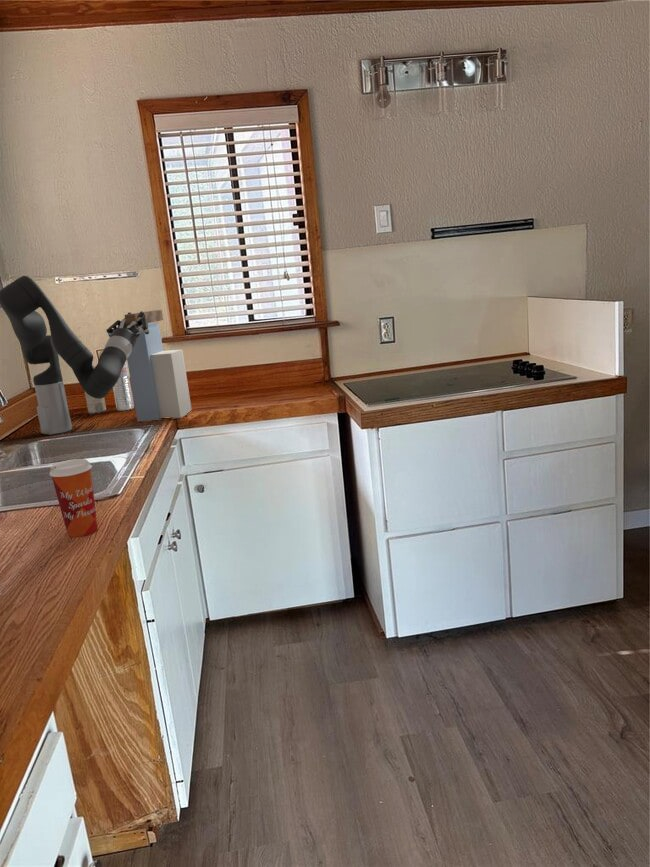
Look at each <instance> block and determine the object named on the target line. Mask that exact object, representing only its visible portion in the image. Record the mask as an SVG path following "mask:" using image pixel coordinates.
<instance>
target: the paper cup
mask: <svg viewBox="0 0 650 867" xmlns="http://www.w3.org/2000/svg"><path fill="white" fill-rule="evenodd" d="M92 468H93V464H91V463H90V461H88V460H87V459H85V458H74V459H68V460H63V461H60V462H57V463H54V464H53V465H51V466H50V472H49V476H50V477H51V478H52V482H53V486H54V489H55V493H56V498H57V501H58V502H57V503H58V505H59V508H60V512H61V517H62V520H63V522H64V526H65V528H66V529H65V530H66V534H67V535H68V537H70V538H83V537H86V536H90V535H92V534H95V533H96V532H97V531H98V529H99V528H98V517H97V510H96V509H97V508H96V502H95V494H94V486H93V479H92V471H91V470H92Z"/></svg>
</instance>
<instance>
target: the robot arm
mask: <svg viewBox="0 0 650 867" xmlns="http://www.w3.org/2000/svg"><path fill="white" fill-rule="evenodd" d="M0 307H1V308H2V310H3V311H4V313H5V315H6V316H7V318H8V320H9V321H10V324H11V327H12V330H13V332H14V334H15V337H16V338H17V340H18V342H19V344H20V345H19V346H20V347H21V348H20V349H21V351H22V354H23V358H24V359H25V361H26V363H28V364H29V365H43V364H49V366H48V368H46V369H45V370H43V371H42V372H39V374H35V375H34V376H33V379H32V381H33V385H34V389H35V394H36V400H37V404H38V406H36V413H37V417H38V422H39V427H40V431H41V434H44V435H56V434H60V433H61V434H63V433H67V432H69V431H71V430H73V425H72V420H71V414H70V411H69V405H68V400H67V395H66V394H67V393H66V389H65V384H64V380H63V376H62V371H61V370H62V369H61V365H60V359H59V357H60V358H61V359H63V360H62V361H64V362H65V363H66V364H67V365H68V367H70V368H71V370H72V372H73V374H74V376H75V377H76V379H77V382H78V383H79V385H80V386H81V389H82V390H83V391H84V393H85V392H86V393H87V394H88V395H90V396H91V397H93V398H97V399H101V398H104V399H105V397H106V396H108V394H109V393H110V392H111V390H113V387H114V385H115V384H116V383H117V381H118V379H119V377H120V374H121V369H122V368H123V366H124V364H125V362H126V363H127V359H128V358H129V356H130V354H131V352H132V350H133V348H134V346H135V344H136V340H137V337H139V336H140V334H142V333H145V334H149V329H148V324H149V323H147V322H146V319H145V314H144V313H143V312H144V311H139V312H138V313H139V315H138V317H137V319H136V320H135V321H133V322H132V323H131V324H130V325H126V321H125V317H124V318H122V319H121V320H120V319H117V320H116V321H115V322H114V323H113V324H111V325H110V326H109V327H108V328H107V329H106V330H105V331H106V332H107V335H108V337H109V338H108V340H107V341H106V343H105V345H104V347H103V351H102V353H101V354H100V356H99V358H98V361H97V363H96V366H95V368H94V369H93V367H92V365H93V362H94V355H93V353H92V352H91V351H90V349H89V348H88V347H87V346H86V345H85V344H84V343H83V342H82V341H81V340H80V339H79V337H78V336H77V335H76V333H74V331H73V330H72V329H71V328H70V326H69V324H68V323H67V322H66V321H65V319H64V317H63V316H62V315H61V314H60V311H58V309H57V308H56V307H55V305H54V304H53V303H52V301H51V300H50V299H49V297H48V296H47V295H46V293H45V292H44V291H43V290H42V288H41V287H40V286H39V285H38V283H36V281H35V280H33V279H32V278H30V276H27V275H22V276H19V277H18V278H16V279H15V280H14V281H12V282H9V284H7V285H6V286H4V287H2V288H1V289H0ZM39 308H41V310H43V312H44V314H45V316H46V318H47V321H48V325H49V326H48V327H49V332H50V335H49V334H48V330H47V325H46V322H45V319H44V317H43V316H42V315H41V314H40V313H39V312H37V309H38V310H39ZM127 314H132V313H131V311H130V312H127ZM138 323H139V324H138ZM47 334H48V335H47Z"/></svg>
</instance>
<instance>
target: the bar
mask: <svg viewBox="0 0 650 867" xmlns="http://www.w3.org/2000/svg"><path fill="white" fill-rule="evenodd" d="M139 313H140V312H135V313H131V314H128V313H127V314H124V318H125V321H126V325H130V324H131V323H132V322H133V321H135V320H136V319H137V317H138V315H139ZM143 313H144V314H145V319H146V322H147V324H149V323H153V322H161V321H164V314H163V309H157V310H156V309H155V310H154V309H153V310H148V311H143ZM138 324H139V323H138Z"/></svg>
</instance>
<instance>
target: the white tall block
mask: <svg viewBox="0 0 650 867" xmlns="http://www.w3.org/2000/svg"><path fill="white" fill-rule="evenodd" d="M184 357H185V356H184V351H183V348H182V349H171V350H163V351H162V352H158V353H155V354H152V355H151V360H152V366H153V373H154V379H155V385H156V391H157V397H158V404H159V410H160V416H161V418H165V417H174V418H173V419H181V418H183V417H185V416H186V415H188V414H189V413H188V412H190V411H191V410H192V409H193V408H192V404H191V403H192V402H191V398H190V391H189V385H188V384H189V383H188V378H187V370H186V363H185V358H184ZM192 411H193V410H192ZM192 411H191V412H192ZM191 412H190V413H191ZM187 413H188V414H187Z"/></svg>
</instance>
